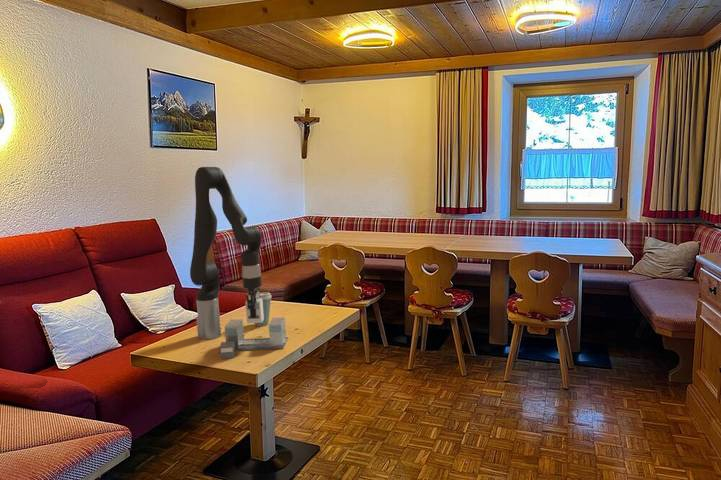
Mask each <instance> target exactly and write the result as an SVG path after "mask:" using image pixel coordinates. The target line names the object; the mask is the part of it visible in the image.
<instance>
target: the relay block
mask: <svg viewBox="0 0 721 480" xmlns="http://www.w3.org/2000/svg"><path fill="white" fill-rule="evenodd" d="M219 351H220V352H219V353H220V360H227V359H234V358H235V355H236V351H235V345H234V341H230V342H226V341H221V342H220V345H219Z"/></svg>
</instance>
